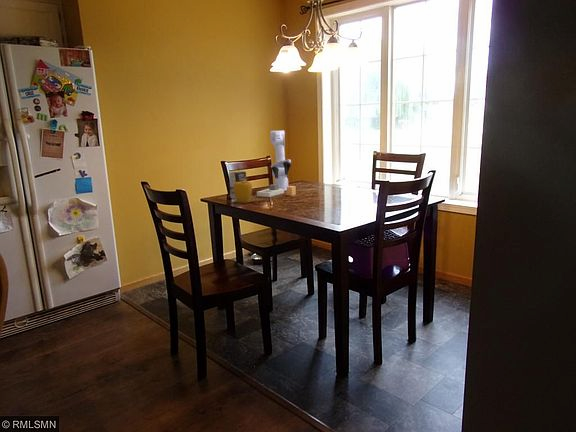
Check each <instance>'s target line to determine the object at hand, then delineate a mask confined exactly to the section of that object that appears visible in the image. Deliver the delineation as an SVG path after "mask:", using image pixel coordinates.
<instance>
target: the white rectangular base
mask: <svg viewBox="0 0 576 432" xmlns="http://www.w3.org/2000/svg"><path fill="white" fill-rule="evenodd" d="M283 194H285V191H284V189H279V188H278V184H275V183H273V184H269V188H267V189H266V188H265V189H262V190H259V191H256V197H259V198H269V199H270V198H273V197H277V196H279V195H283Z"/></svg>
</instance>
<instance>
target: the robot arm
mask: <svg viewBox="0 0 576 432" xmlns="http://www.w3.org/2000/svg"><path fill="white" fill-rule="evenodd" d="M285 132H286V131H285V130H284V129H283V130H270V132H269V133H270V143H271V145H273V146H274V150H275V153H274V154H275V162H274V163H273V164H272V165H270V169H271V170H272V177H273V178H274V184H278V188H279V189H284V192H285V191H287V187H288V186H289V179H288V177H287V176H288V175H289V170H290V168H291V166H292V164H291V163H292V160H291V159H289V158H288V159H286V156H285V155H286V153H285V146H286V142H285V141H286V140H285V138H286V137H285V135H286V133H285Z"/></svg>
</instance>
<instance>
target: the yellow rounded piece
mask: <svg viewBox="0 0 576 432" xmlns="http://www.w3.org/2000/svg"><path fill="white" fill-rule="evenodd" d="M234 193H235V197H236V199H235V200H236V201H237V202H239V203H242V204H245V203H248V202H250V199H251V197H252V193H253V185H252V182H250V181H247V180H246V181H242V182H236V183H234Z"/></svg>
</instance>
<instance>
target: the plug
mask: <svg viewBox="0 0 576 432" xmlns="http://www.w3.org/2000/svg"><path fill="white" fill-rule="evenodd" d="M296 187H297V186H296V185H288V187H287V190H286V196H291V197H292V196H296V193H297V190H296Z"/></svg>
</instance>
